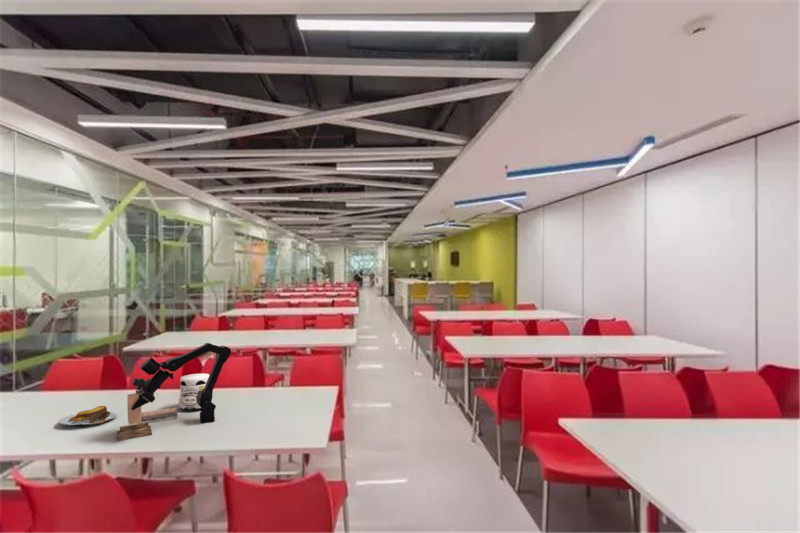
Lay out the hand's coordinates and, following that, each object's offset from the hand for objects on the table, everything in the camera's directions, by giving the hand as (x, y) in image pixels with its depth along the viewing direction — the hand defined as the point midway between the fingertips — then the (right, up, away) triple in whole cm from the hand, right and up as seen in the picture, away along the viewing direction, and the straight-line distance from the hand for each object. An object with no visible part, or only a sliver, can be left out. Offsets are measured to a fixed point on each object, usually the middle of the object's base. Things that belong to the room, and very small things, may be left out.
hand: (131, 408), depth 210 cm
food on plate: (-36, -15, +23) cm, 45 cm away
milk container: (+10, -14, +44) cm, 47 cm away
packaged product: (-1, -14, +25) cm, 29 cm away
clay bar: (+1, -7, +1) cm, 7 cm away
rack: (0, -13, +3) cm, 14 cm away
